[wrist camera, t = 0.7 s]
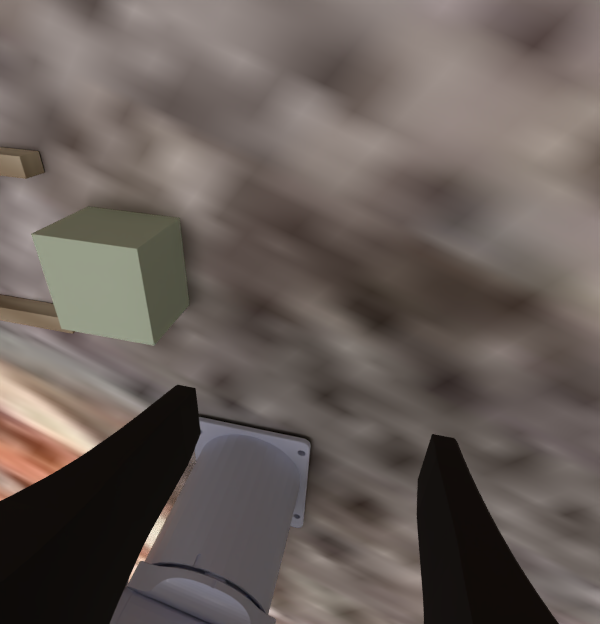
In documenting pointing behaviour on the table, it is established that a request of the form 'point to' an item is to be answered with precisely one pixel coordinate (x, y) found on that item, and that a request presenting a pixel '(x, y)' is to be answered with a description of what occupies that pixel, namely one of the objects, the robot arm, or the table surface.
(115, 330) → the sage block
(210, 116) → the table surface
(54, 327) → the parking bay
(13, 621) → the robot arm
